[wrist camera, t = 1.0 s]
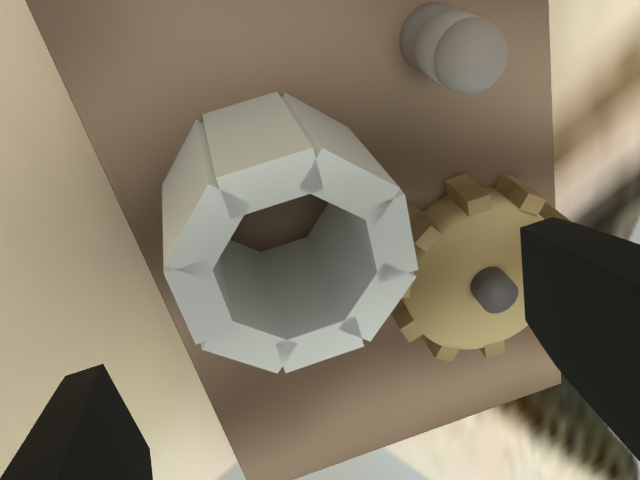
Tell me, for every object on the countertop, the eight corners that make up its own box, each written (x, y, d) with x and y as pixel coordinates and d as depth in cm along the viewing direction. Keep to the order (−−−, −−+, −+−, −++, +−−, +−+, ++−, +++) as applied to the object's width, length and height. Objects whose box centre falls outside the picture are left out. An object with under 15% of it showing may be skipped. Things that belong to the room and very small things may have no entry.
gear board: (545, 364, 26) (612, 444, 22) (249, 469, 25) (266, 573, 21) (510, -312, 14) (638, -388, 11) (-40, -170, 13) (-118, -198, 10)
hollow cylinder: (338, 72, 17) (391, 122, 13) (375, 242, 20) (428, 324, 16) (138, 134, 16) (132, 204, 12) (206, 298, 19) (218, 396, 15)
